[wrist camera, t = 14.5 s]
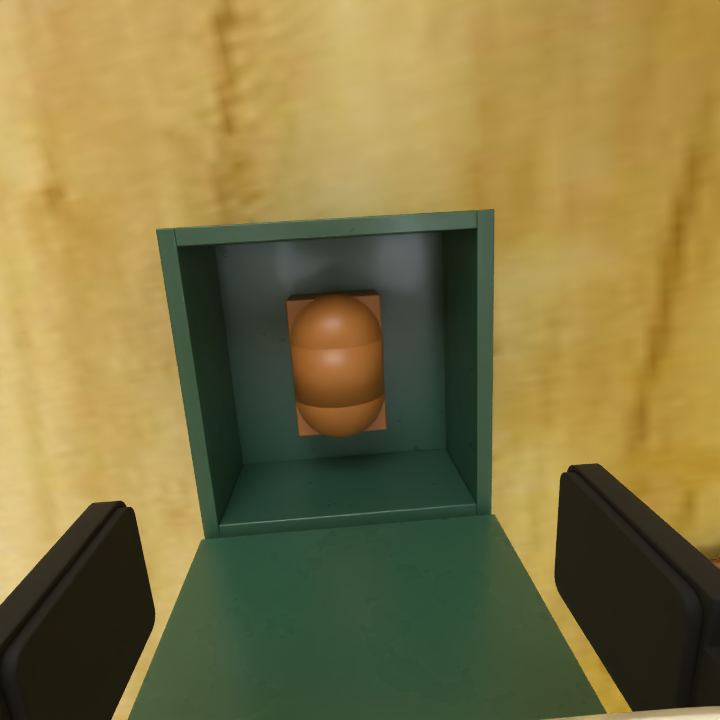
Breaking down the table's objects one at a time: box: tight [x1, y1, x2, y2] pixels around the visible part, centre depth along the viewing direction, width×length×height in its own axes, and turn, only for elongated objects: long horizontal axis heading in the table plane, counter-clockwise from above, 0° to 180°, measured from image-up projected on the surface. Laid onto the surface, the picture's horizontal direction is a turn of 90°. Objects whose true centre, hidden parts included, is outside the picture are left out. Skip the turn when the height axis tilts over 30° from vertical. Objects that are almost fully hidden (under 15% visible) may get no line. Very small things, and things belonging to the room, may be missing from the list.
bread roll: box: [286, 289, 387, 438], centre depth 27 cm, size 8×5×5 cm, turn 3°
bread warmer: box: [156, 209, 494, 539], centre depth 27 cm, size 16×15×8 cm
